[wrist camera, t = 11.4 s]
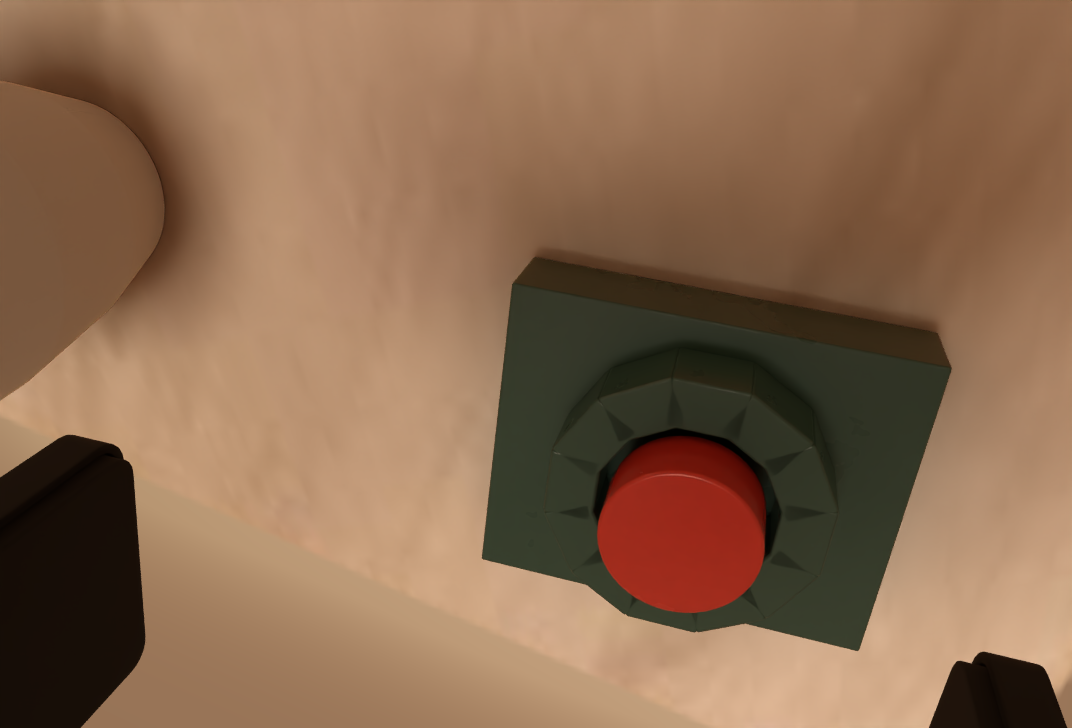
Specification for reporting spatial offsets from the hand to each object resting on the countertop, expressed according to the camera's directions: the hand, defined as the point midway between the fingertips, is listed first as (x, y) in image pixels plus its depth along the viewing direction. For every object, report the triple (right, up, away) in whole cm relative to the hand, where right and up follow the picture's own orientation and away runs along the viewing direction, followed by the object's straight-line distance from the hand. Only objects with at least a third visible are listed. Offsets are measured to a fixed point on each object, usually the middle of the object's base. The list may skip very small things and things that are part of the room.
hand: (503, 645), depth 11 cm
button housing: (+5, +1, +15) cm, 15 cm away
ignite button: (+4, 0, +11) cm, 12 cm away
